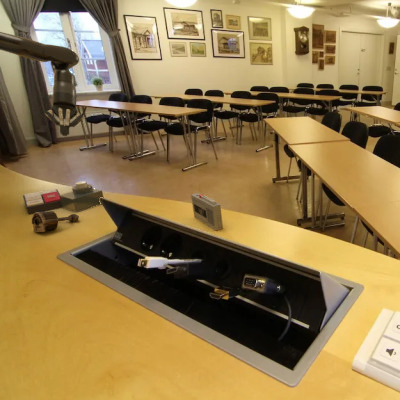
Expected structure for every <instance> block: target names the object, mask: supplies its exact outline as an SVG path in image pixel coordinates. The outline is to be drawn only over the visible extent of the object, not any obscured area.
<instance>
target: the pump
mask: <svg viewBox="0 0 400 400" xmlns="http://www.w3.org/2000/svg"><path fill="white" fill-rule="evenodd" d="M87 184H88V182H87V181H84V180H82V181H77V182H75V186H76V187H77V188H85V187H88V186H87Z"/></svg>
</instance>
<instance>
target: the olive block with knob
mask: <svg viewBox="0 0 400 400" xmlns="http://www.w3.org/2000/svg"><path fill="white" fill-rule="evenodd" d="M87 186H88V187H85V188H77V187H76V185H74V186H73V187H71V191H70V192H66V193H63V194H60V195H59V197H60V201H61V204H62V207H63V208H62V209H64V210H67V211H70V212H73V213H75V214H76V213H79V212H82V211H85V210H89V209H92V208H94V207H93V206H95V207H97V206H96V205H98V206H100V205H102V204H100V202H99V198H100V197H103V198H104V199H105V197H104V193H103V190H102V189H97V188H94V187H93V184H90V183H87ZM91 207H92V208H91ZM88 208H89V209H88Z"/></svg>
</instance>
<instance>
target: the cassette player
mask: <svg viewBox="0 0 400 400" xmlns="http://www.w3.org/2000/svg"><path fill="white" fill-rule="evenodd" d="M190 197H191V204H192V211H193V217H194V218H195V219H196V220H198V221H199V222H201V223H203V224H204V225H206V226H207V227H209V228H210V229H213V230H214V231H215V232H216V231H219V230H222V229H224V226H223V216H222V215H223V214H222V207H221V204H220V203H218V202H217V201H216V200H214V199H213V198H211V197H209V196H206V195H205V194H203V193H199V192H196V193H192V194H190Z"/></svg>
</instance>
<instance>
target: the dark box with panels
mask: <svg viewBox="0 0 400 400" xmlns="http://www.w3.org/2000/svg"><path fill="white" fill-rule="evenodd" d="M59 195H61V194H60V192H59V190H58V189H57V188H53V189H47V190H46V189H45V190H41V191H36V192H30V193H24V194H23V195H22V198H23V201H24V205H25V209H26V211H27V214H28V215H34V213H36V212H47V211H53V210H58V209H63V207H62V204H61V201H60V197H59Z"/></svg>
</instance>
